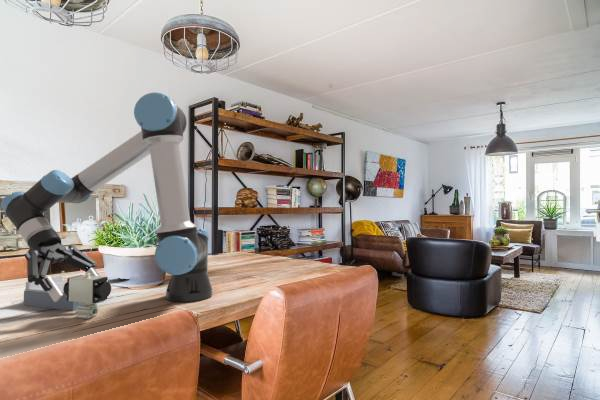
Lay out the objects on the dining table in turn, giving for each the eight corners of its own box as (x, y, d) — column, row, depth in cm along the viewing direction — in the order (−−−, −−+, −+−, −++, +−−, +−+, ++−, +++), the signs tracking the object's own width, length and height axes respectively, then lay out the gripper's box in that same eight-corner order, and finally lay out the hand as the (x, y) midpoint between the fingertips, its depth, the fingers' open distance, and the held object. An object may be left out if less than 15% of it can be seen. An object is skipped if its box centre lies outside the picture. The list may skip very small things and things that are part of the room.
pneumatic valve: (98, 321, 96) (99, 276, 96) (62, 317, 98) (63, 273, 99) (113, 315, 101) (114, 272, 101) (78, 312, 104) (79, 270, 104)
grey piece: (105, 300, 117) (105, 278, 117) (73, 310, 105) (73, 286, 105) (52, 295, 122) (52, 274, 123) (16, 304, 111) (16, 281, 111)
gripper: (71, 241, 117) (108, 291, 113) (-14, 250, 93) (29, 314, 89) (84, 225, 116) (122, 275, 112) (2, 230, 92) (46, 294, 88)
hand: (81, 292), depth 100 cm, fingers open, 13 cm apart
